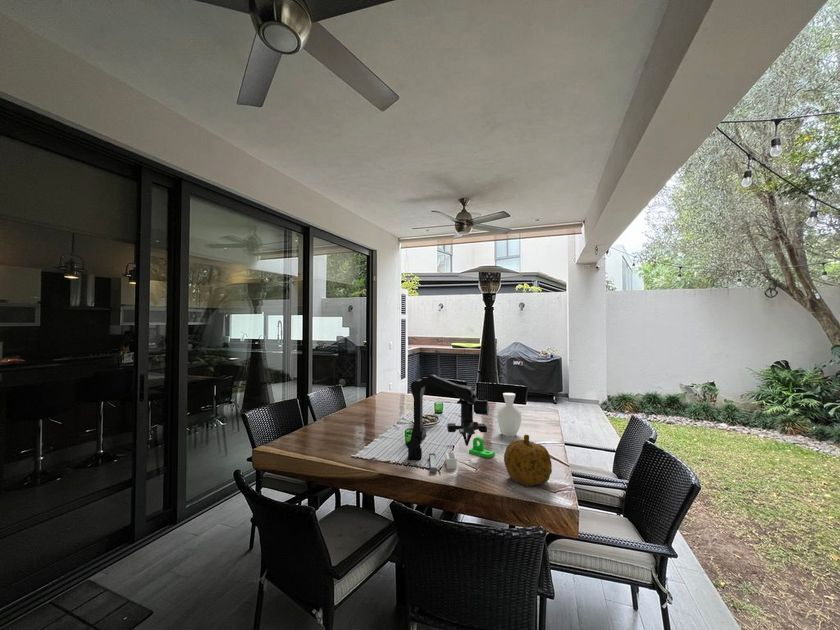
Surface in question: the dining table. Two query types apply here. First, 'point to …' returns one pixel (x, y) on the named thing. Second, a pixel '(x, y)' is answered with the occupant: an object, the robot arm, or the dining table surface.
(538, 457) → the decorative pumpkin
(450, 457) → the block
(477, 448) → the mechanical part
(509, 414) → the vase
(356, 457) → the dining table surface
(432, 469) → the rail
